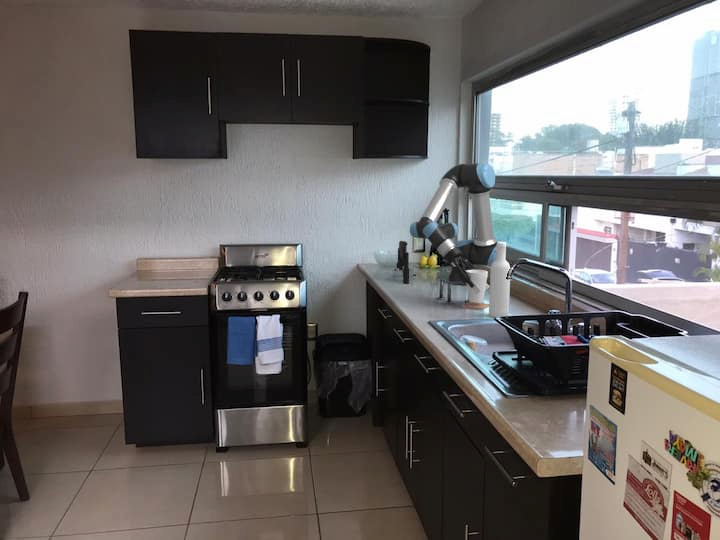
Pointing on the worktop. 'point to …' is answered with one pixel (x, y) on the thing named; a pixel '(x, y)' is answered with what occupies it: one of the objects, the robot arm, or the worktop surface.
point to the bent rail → (448, 291)
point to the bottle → (499, 283)
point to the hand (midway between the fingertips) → (483, 290)
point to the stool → (403, 266)
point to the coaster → (475, 305)
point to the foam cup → (480, 280)
